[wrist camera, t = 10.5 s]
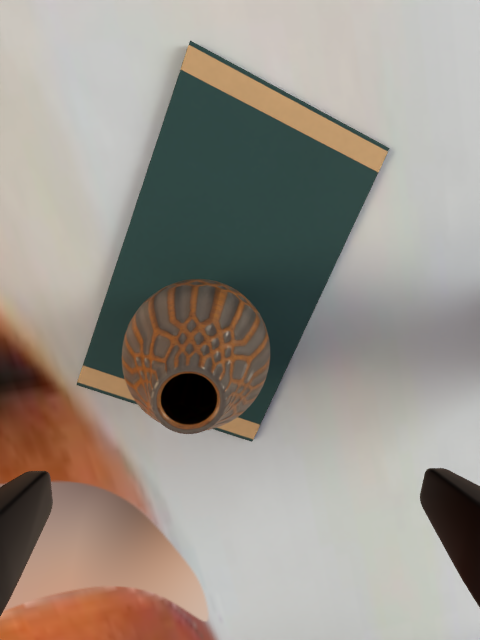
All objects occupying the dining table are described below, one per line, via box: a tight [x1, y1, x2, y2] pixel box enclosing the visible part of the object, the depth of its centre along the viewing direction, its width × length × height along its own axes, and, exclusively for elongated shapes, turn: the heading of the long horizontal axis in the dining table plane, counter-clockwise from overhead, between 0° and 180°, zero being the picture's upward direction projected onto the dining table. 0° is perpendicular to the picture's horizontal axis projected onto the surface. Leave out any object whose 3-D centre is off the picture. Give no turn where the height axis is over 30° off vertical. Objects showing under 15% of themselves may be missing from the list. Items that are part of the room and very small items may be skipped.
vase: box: [122, 279, 270, 434], centre depth 13 cm, size 7×7×9 cm
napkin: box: [77, 41, 389, 441], centre depth 17 cm, size 12×20×1 cm, turn 157°
